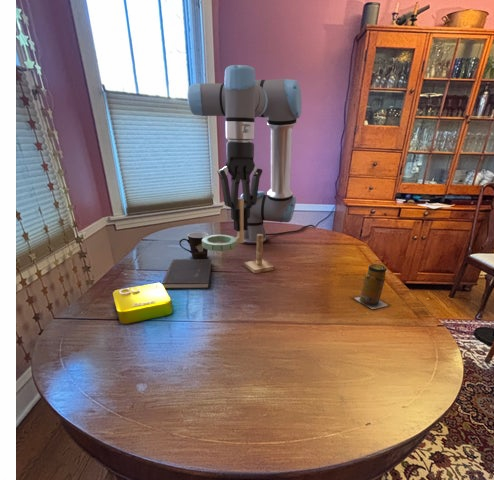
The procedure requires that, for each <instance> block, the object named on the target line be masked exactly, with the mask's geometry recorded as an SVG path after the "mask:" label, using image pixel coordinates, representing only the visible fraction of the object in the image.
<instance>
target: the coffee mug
mask: <svg viewBox="0 0 494 480" xmlns="http://www.w3.org/2000/svg"><path fill="white" fill-rule="evenodd" d="M207 236H210V234H209V233H208V232H204V231H193V232H189V233H188V234H187V238H181V239H180V240H179V244H178V245H179V246H180V248H182V249H183V250H184V251H187V252H189V253H190V254H191V257H192V259H208V255H209V253H208V252H209V250H207V249H205V248H204V247H202V239H203V238H204V237H207ZM183 241H186V242H187V243H188V244H189V248H190V250H189V249H188V248H185V247H184V246H183V245H182V242H183Z"/></svg>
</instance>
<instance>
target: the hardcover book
mask: <svg viewBox="0 0 494 480" xmlns="http://www.w3.org/2000/svg"><path fill="white" fill-rule="evenodd" d="M212 260H213V258H211V259H210V258H207V259H193V258H192V259H189V258H187V259H185V258H184V259H183V258H182V259H177V258H176V259H172V260H171V263H170V265H169V267H168V269H167V271H166V274H165V276H164V278H163V280H162V282H161V284H162V285H163V286H164V288H165V289H166V290H209V289H210V283H211V275H212V267H213V264H212V262H213V261H212Z"/></svg>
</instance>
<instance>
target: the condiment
mask: <svg viewBox="0 0 494 480" xmlns="http://www.w3.org/2000/svg"><path fill="white" fill-rule="evenodd" d="M386 272H387V267H386V266H385V265H381V264H376V263H375V264H370V265H369V266H368V269H367V272H366V273H365V276H364V278H363V279H364V280H363V282H362V288H361V293H360V296H356V297H353V299H354V300H356V301H357V302H359V303H361V304H362V305H364V306H366V307H367V308H370V309H371V310H375V309H380V308H383V307H388V306H389V304H388V303H385V302H384V301H382V300H381V297H382V292H383V288H384V285H385V281H386V274H387V273H386Z"/></svg>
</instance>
